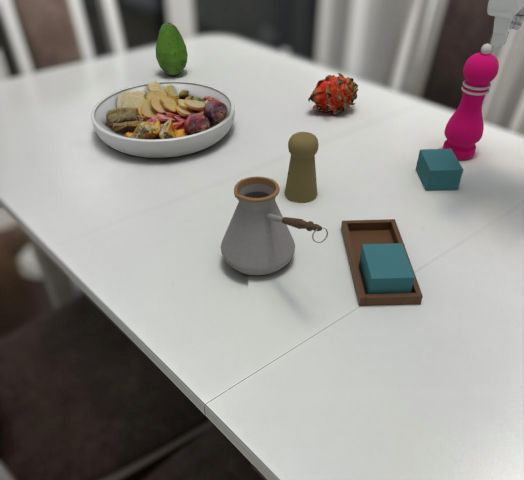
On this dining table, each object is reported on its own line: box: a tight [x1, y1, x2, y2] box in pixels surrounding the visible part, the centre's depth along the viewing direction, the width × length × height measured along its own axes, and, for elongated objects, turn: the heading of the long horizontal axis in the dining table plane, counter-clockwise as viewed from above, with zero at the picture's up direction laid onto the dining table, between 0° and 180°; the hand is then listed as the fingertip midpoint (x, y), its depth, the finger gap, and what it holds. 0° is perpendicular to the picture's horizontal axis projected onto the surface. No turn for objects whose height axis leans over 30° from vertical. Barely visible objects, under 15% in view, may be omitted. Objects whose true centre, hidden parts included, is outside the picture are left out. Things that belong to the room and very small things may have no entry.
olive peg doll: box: [284, 131, 319, 204], centre depth 93 cm, size 6×6×11 cm
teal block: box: [359, 243, 415, 294], centre depth 77 cm, size 6×8×4 cm
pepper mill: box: [442, 43, 500, 161], centre depth 100 cm, size 7×7×20 cm
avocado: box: [155, 21, 189, 76], centre depth 133 cm, size 8×8×12 cm
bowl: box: [90, 80, 236, 159], centre depth 112 cm, size 30×30×8 cm
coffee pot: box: [220, 175, 329, 276], centre depth 75 cm, size 21×12×15 cm, turn 31°
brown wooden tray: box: [340, 218, 423, 307], centre depth 81 cm, size 9×19×2 cm, turn 2°
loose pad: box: [415, 148, 464, 191], centre depth 99 cm, size 6×8×4 cm
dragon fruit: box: [307, 72, 359, 116], centre depth 118 cm, size 8×8×12 cm
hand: (506, 36), depth 78 cm, fingers open, 8 cm apart
